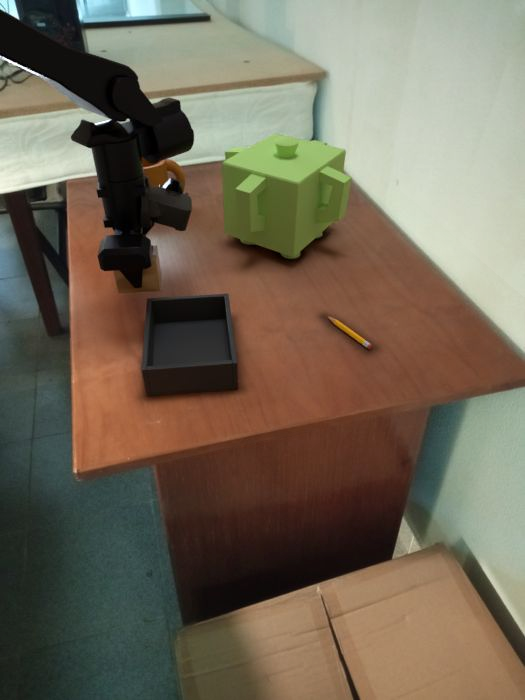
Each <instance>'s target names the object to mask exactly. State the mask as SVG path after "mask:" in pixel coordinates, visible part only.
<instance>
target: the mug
mask: <svg viewBox="0 0 525 700" xmlns="http://www.w3.org/2000/svg"><path fill="white" fill-rule="evenodd" d="M142 164H143V171H144V173H146V176H148V177H149V183H150V185H151V186H155V187H159V185H162V187H163V185H164V184H165V183H166V182H167V181H168V180H169V175H168V172H171V173H172V174H173V175H174V176H175V179H178V180H181V183H182V187H183V193H184V191H185V188H186V176H185V172H184V170H183V168H182V167H181V166H180V164H179V163H178V162H176V161H175V160H173V159H170V158H168V159H165V160H162V161H160V162H157V163H149V162H148V161H146V160H145V159H144V158H143V157H142Z"/></svg>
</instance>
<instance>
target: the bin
mask: <svg viewBox="0 0 525 700" xmlns="http://www.w3.org/2000/svg"><path fill="white" fill-rule="evenodd" d="M145 305H146V306H145V307H146V308H145V319H144V332H143V343H142V344H143V345H142V357H141V375H142V381H143V384H144V390H145V394H146V397H152V396H153V397H155V396H166V395H180V394H192V393H204V392H216V391H229V390H230V391H231V390H238V389H239V375H238V374H239V373H238V371H239V369H238V357H237V349H236V342H235V333H234V326H233V325H234V324H233V318H232V311H231V304H230V296H229V293H211V294H196V295H181V296H164V297H148V298H146V304H145Z"/></svg>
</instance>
